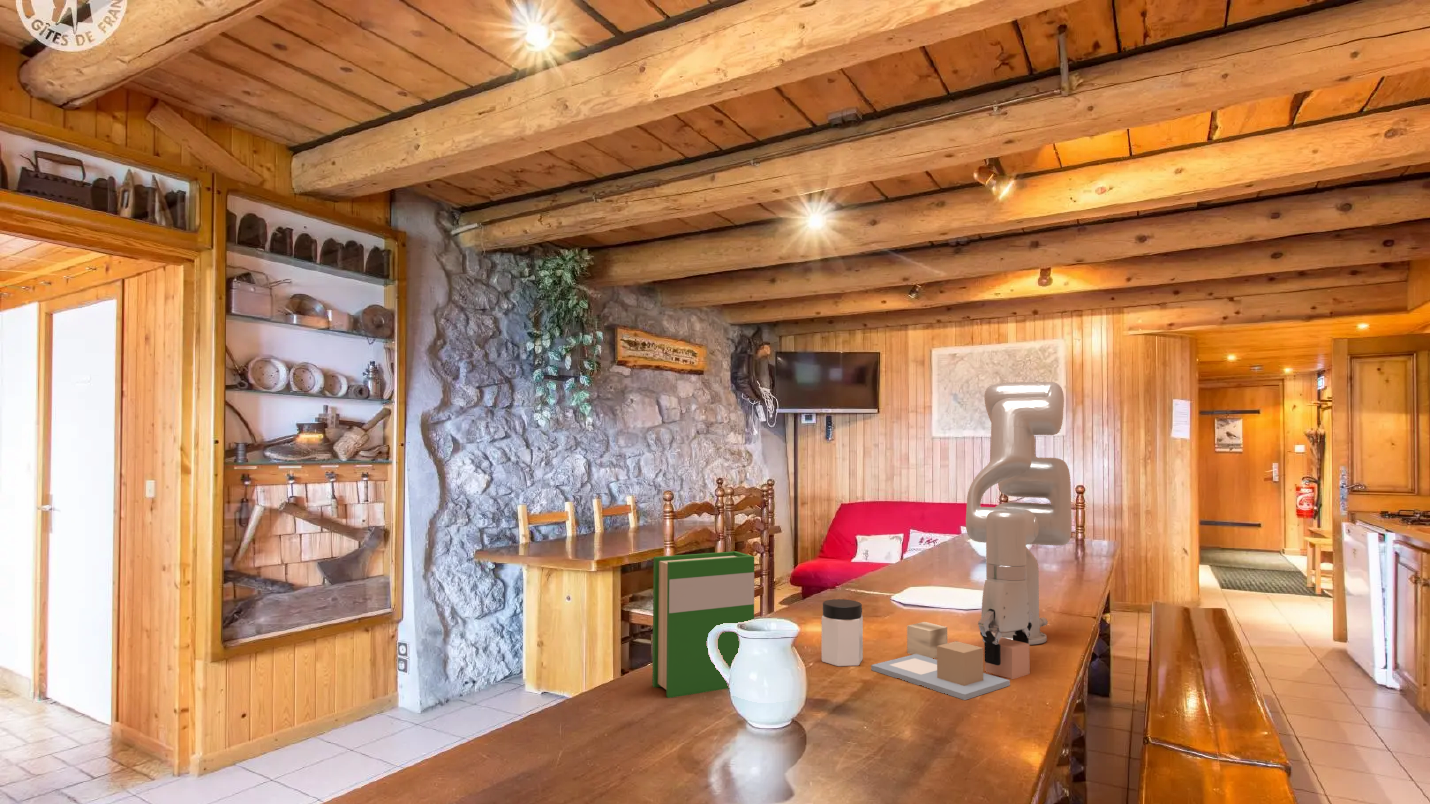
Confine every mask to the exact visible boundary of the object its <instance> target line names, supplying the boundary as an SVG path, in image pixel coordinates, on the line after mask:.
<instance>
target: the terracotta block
mask: <svg viewBox="0 0 1430 804" xmlns="http://www.w3.org/2000/svg"><path fill="white" fill-rule="evenodd" d="M998 644H1000V649H1001V664H1000V665H994V664H990V663H986V662H985V661H984V665H985V668H984V671H986V672H985V673H988V672H989V673H988V674H991V673H993V675H994V676H998V677H999V676H1000V677H1001V678H1005V679H1009V678H1010V679H1009V680H1014V679H1018V678H1023V677H1025V676H1027V675H1030V674H1031V673H1030V672H1031V671H1030V670H1031V669H1030V664H1031V663H1030V662H1031V661H1030V645H1029V644H1028V643H1024V642H1020V641H1015V640H1011V639H1007V638H1003V637H1002V638H1000V640H999V642H998Z"/></svg>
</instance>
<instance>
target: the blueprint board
mask: <svg viewBox="0 0 1430 804" xmlns="http://www.w3.org/2000/svg"><path fill="white" fill-rule="evenodd" d="M870 668H871V671H873V672H877V673H879V674H882V675H885V676H888V677H892V678H894V679H897V678H900V679H902V680H901V681H904V680H905V682H907V681H908V682H907V683H910V684H914V685H916V686H919V685H922V686H924V687H923V688H925V687H927V688H926V689H928V688H930V689H929V690H932V689H933V690H932V691H934V692H939V693H940V694H944V693H945V694H944V695H947V694H948V695H947V696H950V697H953V698H956V699H960V700H962V701H966V700H969V699H974V698H977V697H978V696H981V695H985V694H988V693H991V692H994V691H998V690H1000V689H1003V688H1006V687H1010V686H1011V679H1008V678H1005V677H1001V676H1000V677H999V676H998V675H994V674H993V675H992V674H990V673H987V672H984V647H981V646H977V645H973V644H969V643H965V642H961V641H957V640H955V641H952V642H951V641H950V642H947V644H943V645H939V646H937V658H934V659H933V658H929V657H926V656H922V655H919V654H914V655H912V654H909V655H907V656H906V655H905V656H902V657H898V658H895V659H890V660H886V661H882V662H878V663H874V664H871V665H870ZM900 679H899V680H900ZM922 686H921V687H922Z"/></svg>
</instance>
